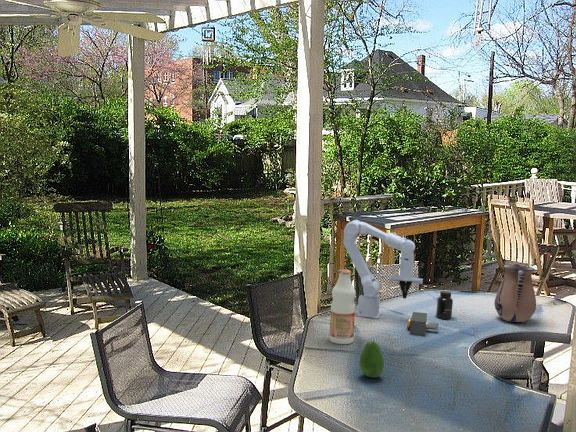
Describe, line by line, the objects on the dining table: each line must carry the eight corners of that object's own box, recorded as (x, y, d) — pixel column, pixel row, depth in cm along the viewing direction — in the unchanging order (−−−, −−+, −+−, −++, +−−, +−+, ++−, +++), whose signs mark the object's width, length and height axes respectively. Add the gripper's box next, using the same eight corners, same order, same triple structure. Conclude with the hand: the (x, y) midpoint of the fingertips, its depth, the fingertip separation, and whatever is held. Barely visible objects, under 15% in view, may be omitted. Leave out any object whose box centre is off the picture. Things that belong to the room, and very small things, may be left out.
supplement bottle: (448, 320, 266) (449, 294, 265) (433, 317, 270) (435, 291, 269) (453, 317, 272) (455, 292, 270) (439, 314, 276) (441, 289, 274)
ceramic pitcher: (527, 316, 279) (532, 263, 276) (542, 329, 258) (547, 273, 255) (489, 313, 281) (493, 261, 278) (500, 327, 260) (505, 270, 257)
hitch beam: (409, 334, 245) (410, 320, 244) (412, 324, 258) (413, 311, 257) (424, 336, 243) (425, 322, 242) (426, 326, 256) (427, 313, 256)
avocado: (367, 370, 203) (369, 336, 201) (387, 377, 198) (389, 342, 196) (354, 377, 197) (356, 342, 195) (374, 383, 192) (376, 347, 190)
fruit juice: (324, 339, 234) (327, 269, 231) (343, 335, 239) (346, 267, 236) (339, 346, 227) (343, 273, 223) (358, 342, 232) (362, 271, 228)
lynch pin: (407, 329, 250) (407, 319, 249) (407, 326, 254) (408, 317, 253) (437, 332, 246) (438, 323, 246) (438, 329, 250) (438, 320, 250)
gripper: (388, 267, 261) (387, 298, 262) (422, 271, 257) (420, 301, 258) (390, 265, 267) (389, 294, 269) (423, 268, 263) (421, 298, 265)
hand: (404, 297), depth 264 cm, fingers closed
